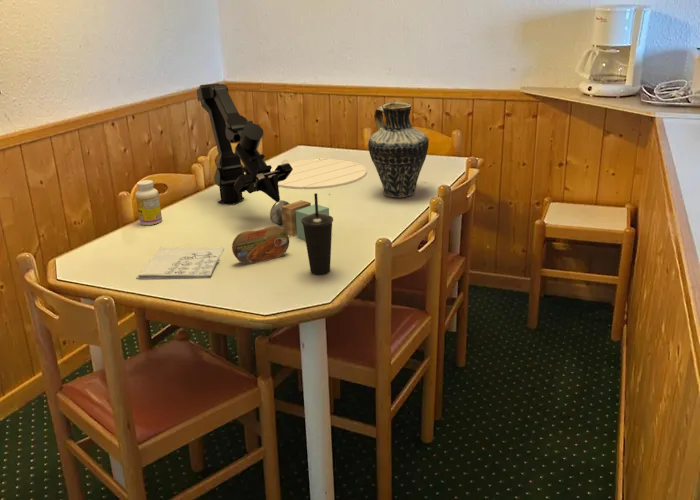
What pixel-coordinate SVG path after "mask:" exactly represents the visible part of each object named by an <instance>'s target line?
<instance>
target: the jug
mask: <svg viewBox="0 0 700 500" xmlns="http://www.w3.org/2000/svg"><path fill="white" fill-rule="evenodd" d="M411 110H412V105H411V103H410V102H401V101H395V102H388V103H384V104H383V105H381V106H379V107H377V108H376V109H375V111H374V115H373V117H374V122H375V126H376V130H377V131H376V132H374V133H373V134H372V135H371V136H370V137H369V140H368V143H367V144H368V145H367V146H368V147H367V149H368V152H369V156H370V159H371V161H372V163H373V165H374V167H375V169H376V172H377V175H378V178H379V180H380V182H381V185H382V190H383V194H384V195H385V196H387V197H391V198H406V197H408V196H412V195H414V194H415V192H416V188H417V183H418V179H419V176H420V173H421V170H422V168H423V166H424V163H425V161H426V157H427V155H428V151H429V138H428V136H427V135H426V133H425V132H423V131H421V130H419V129H418V128H415V127H414V126H412V124H411V121H410V115H411ZM384 118H385V119H384ZM384 120H385V121H384Z"/></svg>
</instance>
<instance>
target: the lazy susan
mask: <svg viewBox="0 0 700 500" xmlns="http://www.w3.org/2000/svg"><path fill="white" fill-rule="evenodd" d="M285 163H288V164H290V165H291V167H292V168H293V170H292V171H291V173H290V174H289V176H288V177H287V178H286V179H285V180H283V181H280V182H278V188H283V189H284V188H285V189H293V190H322V189H331V188H337V187H342V186H347V185H350V184H354V183H356V182H359V181H360V180H362V179H364V178H365V177H366V176H367V168H366V167H365V166H364V165H363V164H361V163H357V162H354V161H350V160H343V159H332V158H328V157H325V156H324V157H321V158H318V159H315V158H313V159H302V160H301V159H300V160H295V161H294V160H293V161H292V160H291V159H290V158H289V159H288V158H287V159H283V160H282V161H281V162H280V164H277V165H274V166H271V167H272V168H271V170H270V171H271V172H272V171H275V169H276V168H277V166H278V165H281V164H285Z"/></svg>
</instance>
